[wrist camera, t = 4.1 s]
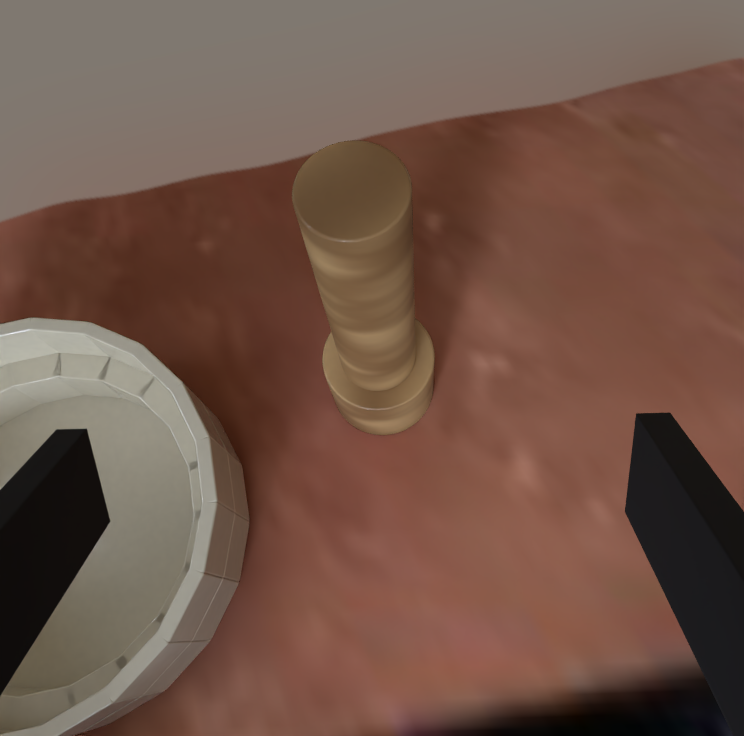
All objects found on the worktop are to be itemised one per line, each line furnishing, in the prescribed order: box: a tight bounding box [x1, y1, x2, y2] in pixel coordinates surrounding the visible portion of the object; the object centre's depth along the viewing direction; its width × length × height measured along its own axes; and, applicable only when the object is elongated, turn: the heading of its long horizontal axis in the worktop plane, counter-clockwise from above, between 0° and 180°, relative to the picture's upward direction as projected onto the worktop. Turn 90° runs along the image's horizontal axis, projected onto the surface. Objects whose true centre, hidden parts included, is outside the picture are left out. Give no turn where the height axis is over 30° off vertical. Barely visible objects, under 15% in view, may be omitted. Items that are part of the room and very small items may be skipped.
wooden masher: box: [292, 140, 435, 435], centre depth 26 cm, size 5×5×16 cm
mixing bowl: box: [0, 317, 250, 736], centre depth 29 cm, size 16×16×6 cm
